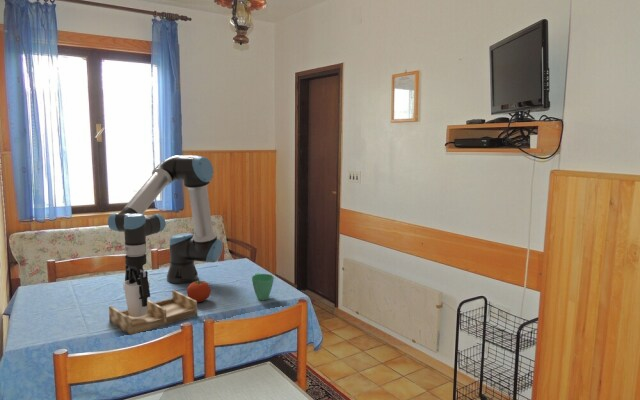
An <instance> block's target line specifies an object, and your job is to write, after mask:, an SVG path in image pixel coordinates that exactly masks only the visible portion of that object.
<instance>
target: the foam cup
mask: <svg viewBox="0 0 640 400" xmlns="http://www.w3.org/2000/svg"><path fill="white" fill-rule="evenodd" d="M139 279H140V278H139ZM148 283H149V288H150V286H151V285H150V284H151V283H150V280H149V279H148ZM122 284H123V287H122V288H123V291H124V297H125V300H126V301H125V302H126V306H127V310H128V313H129V316H130V317H141V316H144V315H145V314H143V315H140V305H139V298H140V293H139V286H141V285H137V282H135V283H133V284H129V280H127V281H125V280H124V282H123V283H122ZM148 300H149V297H148V298H147V301H148Z"/></svg>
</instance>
